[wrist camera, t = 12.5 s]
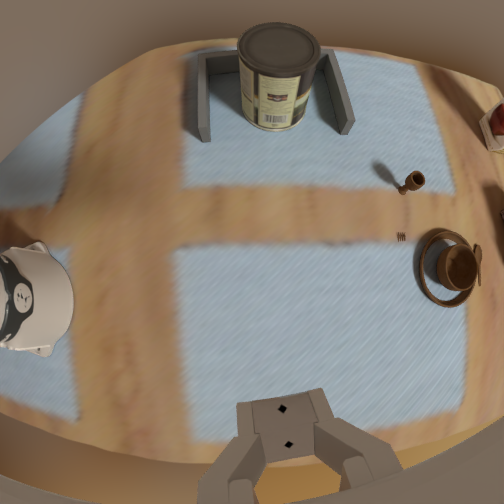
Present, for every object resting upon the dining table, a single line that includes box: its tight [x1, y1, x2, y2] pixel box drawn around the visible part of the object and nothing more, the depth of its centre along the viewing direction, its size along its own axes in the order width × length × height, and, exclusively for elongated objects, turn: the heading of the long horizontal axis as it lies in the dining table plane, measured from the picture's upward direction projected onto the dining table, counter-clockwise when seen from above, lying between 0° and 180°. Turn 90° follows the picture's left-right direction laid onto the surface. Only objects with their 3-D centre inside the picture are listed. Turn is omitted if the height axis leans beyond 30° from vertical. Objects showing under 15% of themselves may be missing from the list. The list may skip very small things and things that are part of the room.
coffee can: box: [237, 22, 321, 132], centre depth 38 cm, size 10×10×14 cm
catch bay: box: [198, 49, 355, 143], centre depth 43 cm, size 22×15×4 cm
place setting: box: [398, 171, 482, 308], centre depth 39 cm, size 18×20×6 cm
